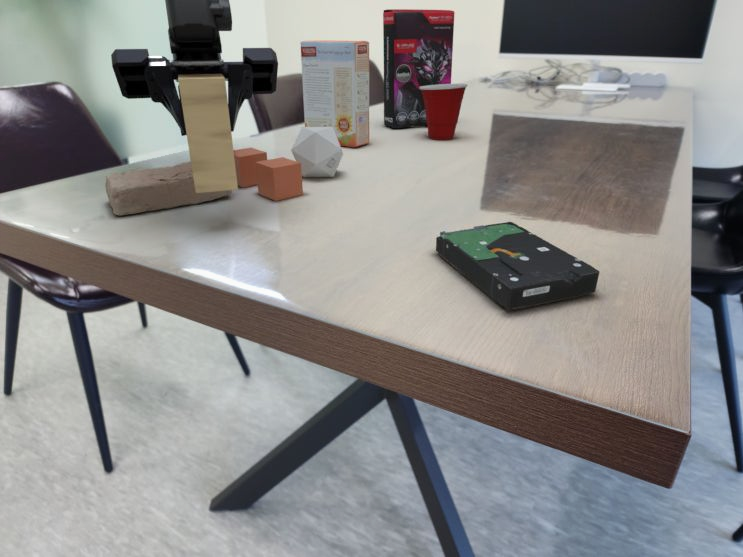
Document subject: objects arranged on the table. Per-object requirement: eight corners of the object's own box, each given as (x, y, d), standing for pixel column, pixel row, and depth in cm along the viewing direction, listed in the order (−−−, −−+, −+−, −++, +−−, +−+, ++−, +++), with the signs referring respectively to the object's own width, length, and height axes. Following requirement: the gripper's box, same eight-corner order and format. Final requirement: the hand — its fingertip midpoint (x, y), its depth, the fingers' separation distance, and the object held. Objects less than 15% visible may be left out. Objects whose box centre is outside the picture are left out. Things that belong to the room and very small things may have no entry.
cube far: (228, 181, 85) (224, 151, 83) (254, 176, 88) (251, 147, 86) (242, 187, 82) (239, 156, 80) (269, 182, 85) (266, 152, 83)
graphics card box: (392, 130, 128) (395, 8, 116) (380, 125, 134) (381, 9, 122) (449, 125, 135) (457, 9, 122) (436, 121, 140) (442, 10, 128)
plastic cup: (431, 131, 126) (434, 80, 121) (471, 136, 121) (475, 83, 115) (408, 138, 118) (410, 84, 113) (449, 144, 113) (453, 87, 107)
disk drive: (596, 296, 50) (508, 240, 62) (603, 270, 48) (511, 219, 60) (507, 315, 46) (432, 252, 58) (511, 288, 45) (434, 230, 57)
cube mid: (258, 193, 79) (255, 162, 77) (285, 187, 82) (282, 157, 80) (275, 201, 76) (272, 168, 73) (303, 194, 79) (301, 162, 76)
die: (323, 189, 84) (354, 136, 83) (276, 160, 83) (307, 107, 82) (327, 192, 92) (355, 144, 92) (284, 166, 92) (312, 118, 91)
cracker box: (370, 143, 113) (370, 40, 104) (355, 148, 108) (354, 41, 99) (320, 137, 120) (316, 39, 110) (304, 141, 115) (299, 40, 106)
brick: (116, 218, 69) (109, 184, 67) (107, 202, 75) (100, 170, 73) (235, 199, 77) (231, 168, 75) (217, 186, 83) (214, 157, 81)
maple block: (194, 182, 66) (178, 74, 60) (234, 179, 67) (221, 73, 61) (195, 193, 61) (177, 78, 55) (238, 189, 63) (224, 77, 57)
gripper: (93, -34, 54) (104, 87, 50) (269, -28, 59) (292, 82, 55) (117, 44, 64) (128, 150, 60) (265, 43, 70) (285, 141, 65)
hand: (208, 130), depth 60 cm, fingers closed on maple block, 5 cm apart
